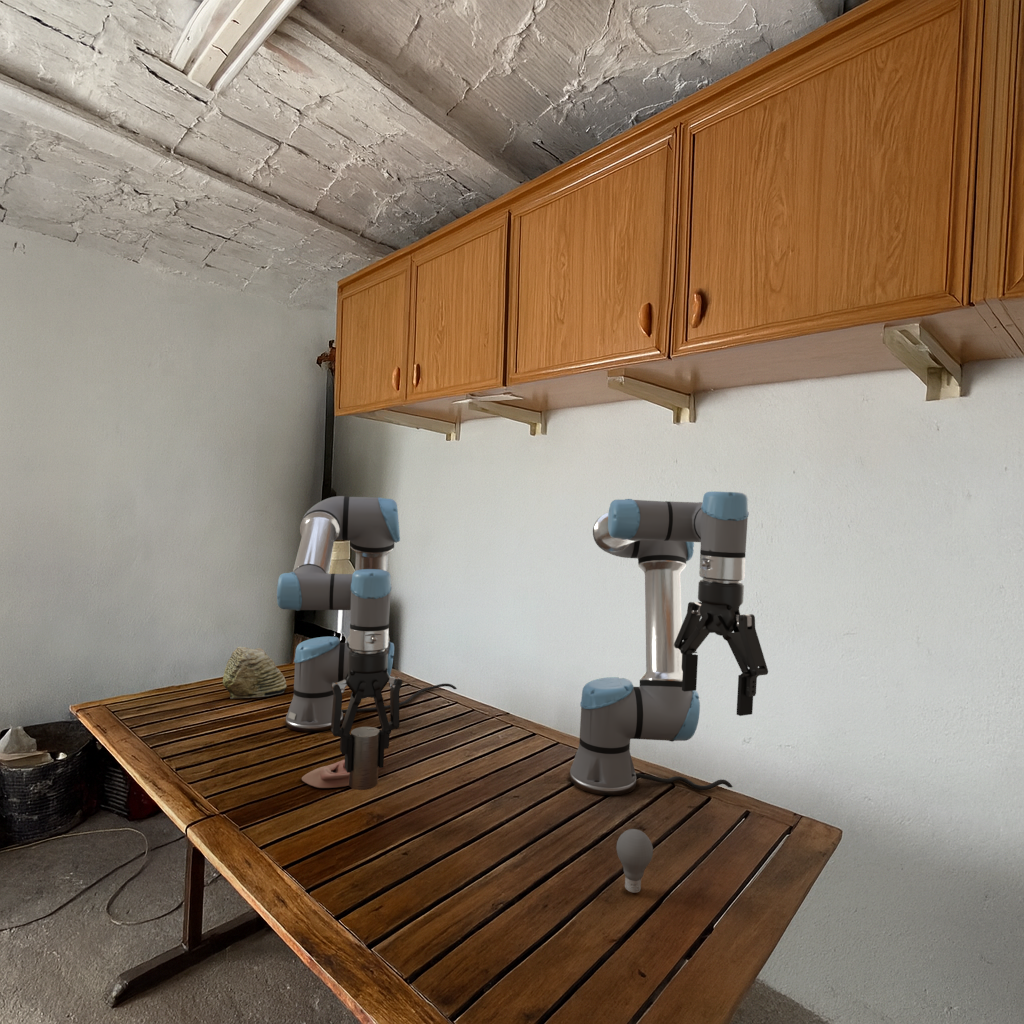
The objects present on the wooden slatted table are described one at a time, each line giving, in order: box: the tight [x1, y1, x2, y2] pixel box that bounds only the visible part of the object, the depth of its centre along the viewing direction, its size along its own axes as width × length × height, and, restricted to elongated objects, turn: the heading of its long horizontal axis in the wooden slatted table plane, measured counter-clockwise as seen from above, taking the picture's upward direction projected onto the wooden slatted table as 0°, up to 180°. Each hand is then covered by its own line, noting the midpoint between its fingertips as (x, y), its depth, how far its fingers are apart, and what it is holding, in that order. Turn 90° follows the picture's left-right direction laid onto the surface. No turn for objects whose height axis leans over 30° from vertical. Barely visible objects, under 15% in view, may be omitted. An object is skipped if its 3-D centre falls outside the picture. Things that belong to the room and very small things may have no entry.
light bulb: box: [615, 828, 654, 894], centre depth 106 cm, size 6×6×10 cm
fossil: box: [222, 646, 288, 699], centre depth 198 cm, size 9×18×15 cm, turn 132°
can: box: [349, 726, 380, 791], centre depth 124 cm, size 6×6×10 cm
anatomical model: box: [301, 759, 350, 789], centre depth 143 cm, size 13×4×12 cm
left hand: (363, 766), depth 124 cm, fingers closed on can, 5 cm apart
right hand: (715, 701), depth 110 cm, fingers open, 13 cm apart
